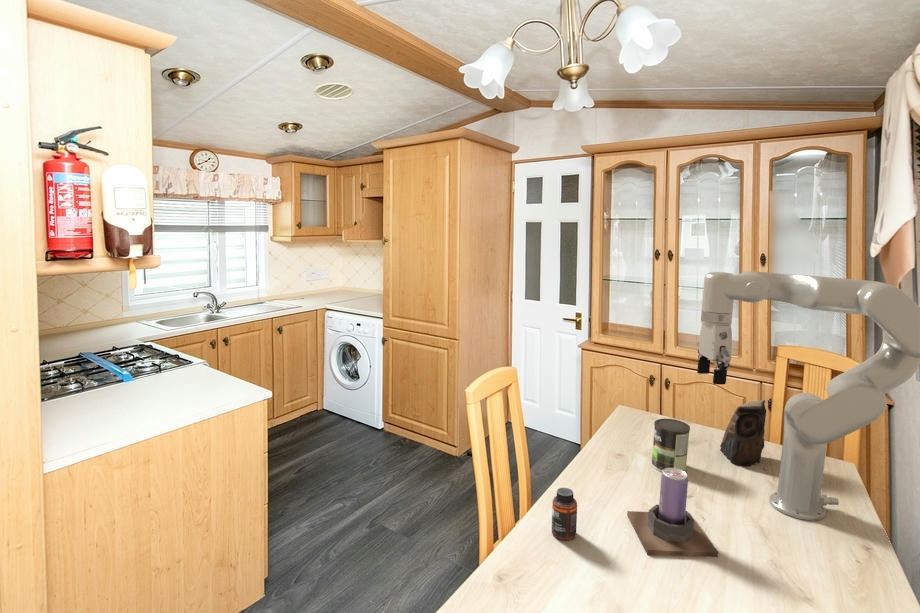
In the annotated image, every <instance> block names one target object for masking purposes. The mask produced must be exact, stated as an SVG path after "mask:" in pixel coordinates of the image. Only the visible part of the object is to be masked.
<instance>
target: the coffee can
mask: <svg viewBox="0 0 920 613" xmlns="http://www.w3.org/2000/svg"><path fill="white" fill-rule="evenodd" d="M653 424H654V428H653V440H652V441H653V442H652V454H651V455H652V456H651V463H650V464H651V467H652V468H653V469H655V470H656V471H658V472H660V473H662V471H663V469H665V468H677V469H680V470H683V471H684V472H686V471H687V461H688V460H687V459H688V451H689V439H690V430H691V426H690V425H689V424H688V423H686V422H684V421H682V420H679V419H674V418H673V419H672V418H659V419H656V420H654V423H653ZM686 473H687V472H686Z"/></svg>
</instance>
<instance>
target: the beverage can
mask: <svg viewBox="0 0 920 613" xmlns="http://www.w3.org/2000/svg"><path fill="white" fill-rule="evenodd" d="M660 476H661V477H660V488H659V500H658V501H659V502H658V505H659V514H658V519H659V520H661V521H664V522H666V523H668V524H672V525H685V513H686V511H687V498H688V488H689V487H688V486H689V479H688V478H689V477H688V476H689V475H688V473H687V472H684V471H683V470H680V469H677V468H665V469H663V471H662V472H661V474H660Z"/></svg>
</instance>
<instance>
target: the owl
mask: <svg viewBox="0 0 920 613" xmlns="http://www.w3.org/2000/svg"><path fill="white" fill-rule="evenodd" d="M765 402H766V399H761V400H755V401H749V402H746V403H743V404H741V405H739V406H737V408H736V409H735V410H734V412H733V414H732V415H731V418H730V420H729V422H728V424H727V427H726V428H725V431H724V434H723V437H722V440H721V443H720V446H719V447H720V449H719V451H720V452H721V453H722V454H723V455H724V456H725V457H726V459H727V460H728V461H729V462H730V464H732V465H734V466H736V467H743V468H744V467H745V468H747V467H749V468H751V467H752V466H755V465H757V463H758V464H759V463H761V457H762V452H763V450H764V448H765V439H764V436H765V426H766V417H767V408H766V406H765Z"/></svg>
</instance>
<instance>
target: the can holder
mask: <svg viewBox="0 0 920 613" xmlns="http://www.w3.org/2000/svg"><path fill="white" fill-rule="evenodd" d="M626 514H627V515H626V516H627V518H628V520H629V522H630V524H631V526H632V528H633V529H634V531H635V532H634V533H636V535H637V538H638V539H639V542H640V544H641V545H642V547H643V550H644V551H645V554H646V555H647V556H648V555H649V556H670V557H671V556H674V557H675V556H676V557H703V558H704V557H707V558H708V557H709V558H718V557H719V551H718V550H717V548H716V547H715V546H714V544H713V543H712V542H711V540H710V539H709V537H708V536H707V535H706V533H705V532H704V530H703V529H702V528H701V526H700V525H699V524H698V522H697V521H696V520H695V518H694V517H693V515H692V514H691V513H690V512H688V511H687V510H686V513H685V525H672V524H668V523H666V522H664V521H661V520H659V519H658V514H659V504H655V505H654V506H652V507H651V508H650V509H649V510H648V511H634V510H632V511H631V510H627V513H626Z"/></svg>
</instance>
